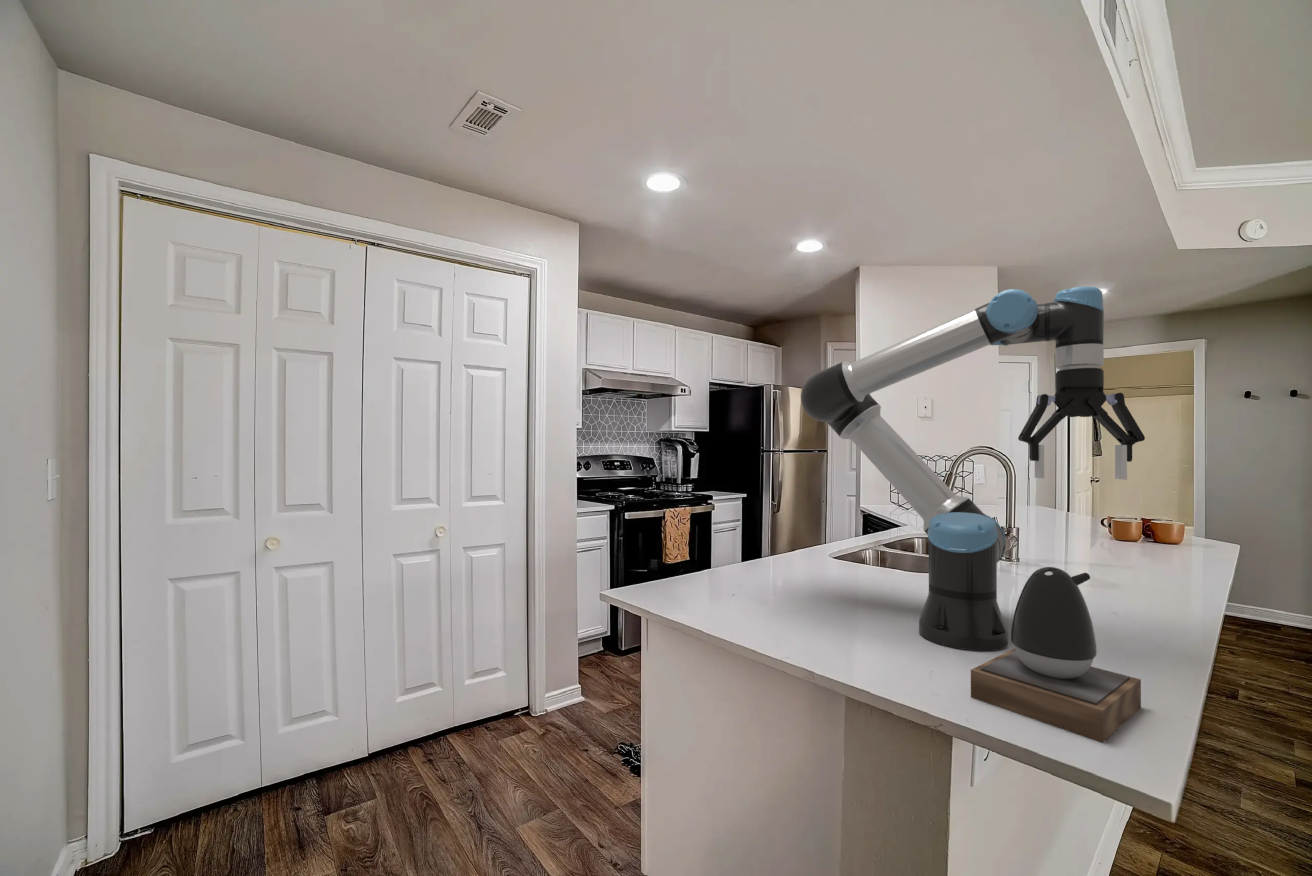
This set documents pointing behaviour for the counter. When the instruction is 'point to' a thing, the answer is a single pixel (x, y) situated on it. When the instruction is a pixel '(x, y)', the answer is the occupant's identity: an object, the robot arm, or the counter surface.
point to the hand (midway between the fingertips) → (1079, 478)
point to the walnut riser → (1059, 695)
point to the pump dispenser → (1054, 625)
